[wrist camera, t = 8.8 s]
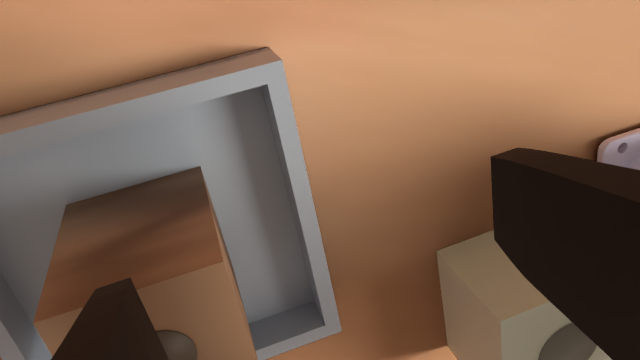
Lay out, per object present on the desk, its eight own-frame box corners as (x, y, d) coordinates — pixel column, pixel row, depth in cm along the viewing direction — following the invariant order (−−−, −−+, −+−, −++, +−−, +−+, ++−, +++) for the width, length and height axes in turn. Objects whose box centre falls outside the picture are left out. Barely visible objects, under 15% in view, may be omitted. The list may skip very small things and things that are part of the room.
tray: (268, 46, 17) (281, 59, 16) (326, 300, 23) (341, 331, 21) (-96, 141, 15) (-126, 168, 14) (61, 395, 21) (54, 437, 19)
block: (200, 166, 18) (224, 263, 13) (233, 268, 20) (265, 387, 15) (65, 204, 17) (32, 325, 12) (115, 307, 19) (105, 447, 14)
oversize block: (550, 206, 25) (638, 267, 20) (549, 302, 27) (625, 373, 23) (435, 249, 24) (501, 322, 19) (446, 343, 26) (506, 426, 22)
